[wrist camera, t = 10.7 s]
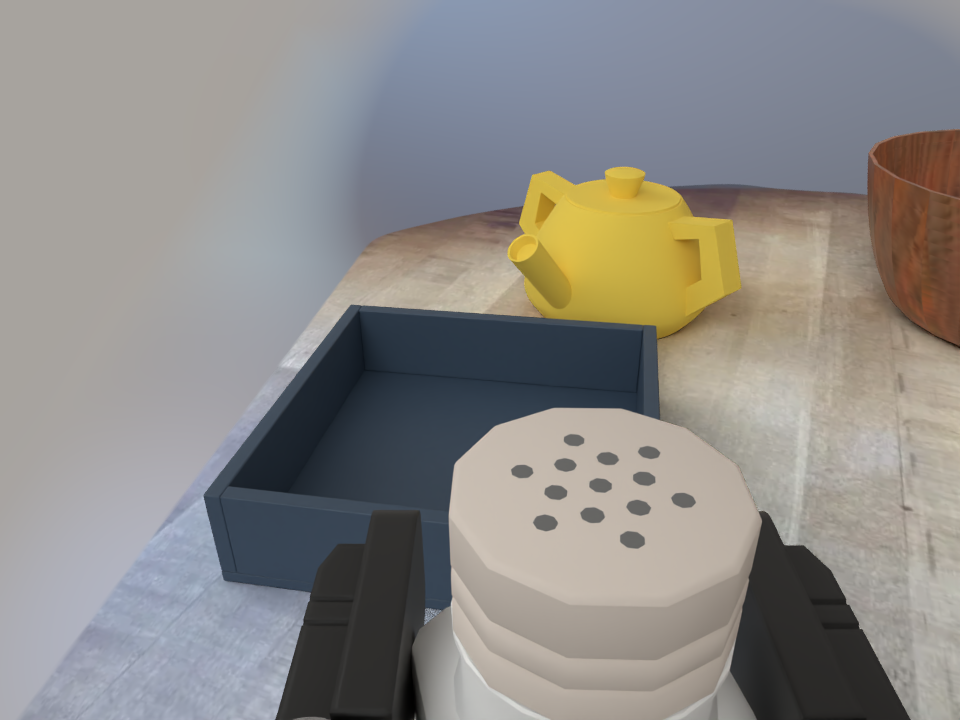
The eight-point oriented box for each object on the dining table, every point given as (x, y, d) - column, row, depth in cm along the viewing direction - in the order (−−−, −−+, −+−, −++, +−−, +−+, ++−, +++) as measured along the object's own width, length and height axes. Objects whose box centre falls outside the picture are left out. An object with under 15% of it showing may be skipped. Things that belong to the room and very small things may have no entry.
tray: (223, 580, 35) (202, 495, 33) (357, 371, 52) (350, 304, 50) (652, 638, 32) (664, 549, 30) (648, 395, 49) (656, 325, 46)
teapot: (425, 311, 60) (417, 174, 55) (577, 251, 71) (584, 131, 66) (627, 411, 47) (644, 244, 42) (776, 320, 58) (805, 177, 53)
